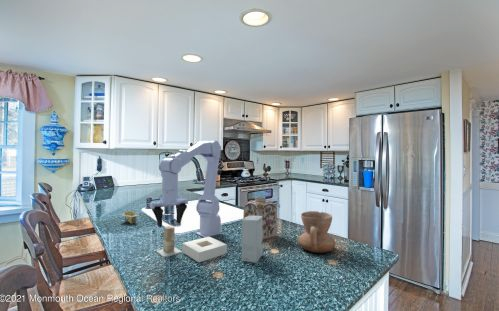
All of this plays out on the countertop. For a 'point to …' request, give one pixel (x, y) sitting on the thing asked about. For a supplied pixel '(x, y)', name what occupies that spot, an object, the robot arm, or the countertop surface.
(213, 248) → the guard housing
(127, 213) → the gold pronged connector
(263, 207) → the decorative jar
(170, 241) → the wooden square post
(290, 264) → the countertop surface
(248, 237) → the skincare box
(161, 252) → the mat
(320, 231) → the ceramic jug
